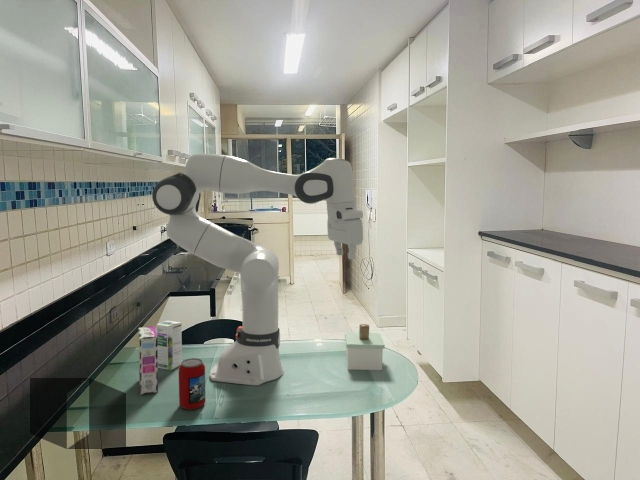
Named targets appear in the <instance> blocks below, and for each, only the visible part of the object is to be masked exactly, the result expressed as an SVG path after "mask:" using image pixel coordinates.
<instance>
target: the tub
mask: <svg viewBox="0 0 640 480" xmlns="http://www.w3.org/2000/svg"><path fill="white" fill-rule="evenodd" d="M345 348H346V349H345V351H346V352H345V358H346V359H345V360H346V367H347V370H348V371H349V370H354V371H355V370H357V371H358V370H360V371H383V355H384V353H383V352H384V351H383V350H384V349H372V348H347V347H345Z"/></svg>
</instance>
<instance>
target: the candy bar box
mask: <svg viewBox="0 0 640 480" xmlns="http://www.w3.org/2000/svg"><path fill="white" fill-rule="evenodd" d="M137 335H138V338H137V339H138V341H137V342H138V378H139V380H138V381H139V392H140V394H139V395H141V396H144V395H149V394H150V395H151V394H157V393H158V392H159V368H158V345H157V328H156V326H155V325H154V326H153V325H152V326H144V327H138V334H137Z"/></svg>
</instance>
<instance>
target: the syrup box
mask: <svg viewBox="0 0 640 480" xmlns="http://www.w3.org/2000/svg"><path fill="white" fill-rule="evenodd" d="M182 326H183V325H182V321H174V320H173V321H172V320H164V321H160V322H159V323H156V334H157V345H158V369H161V370H162V369H163V370H167V371H172V370H174V369H176V368H179V367H180V365H181V362H182V361H183V359H182V358H183V351H182V349H183V347H182V346H183V344H182V343H183V341H182V339H183V338H182V332H183V330H182V328H183V327H182Z"/></svg>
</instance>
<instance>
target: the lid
mask: <svg viewBox="0 0 640 480" xmlns="http://www.w3.org/2000/svg"><path fill="white" fill-rule="evenodd" d="M358 329H359V331H358V332H344V338H345V345H346V347H347V348H372V349H383V350H384V349H385V348H386V347H385V342H384V340H383V336H382V333H381V332H370V325H369V324H367V323H362V324H359V328H358ZM346 347H345V348H346Z"/></svg>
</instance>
